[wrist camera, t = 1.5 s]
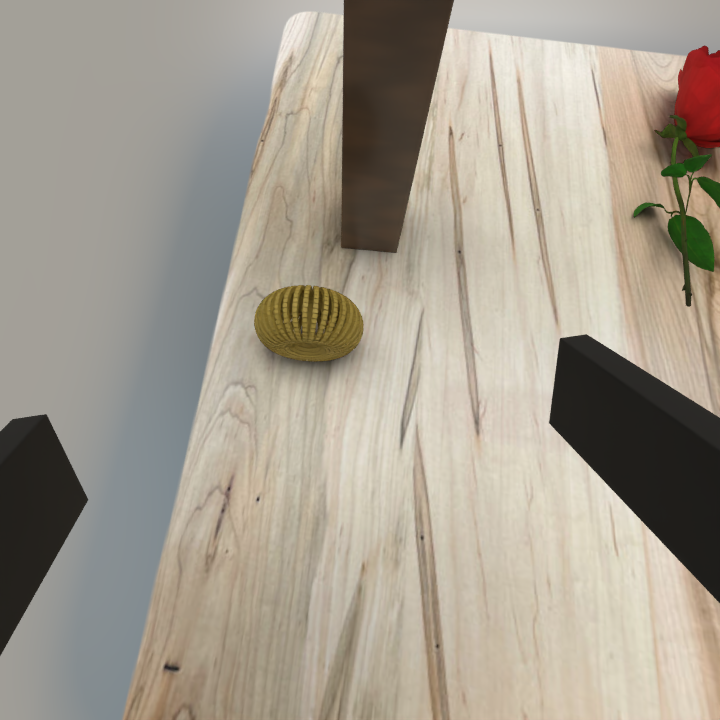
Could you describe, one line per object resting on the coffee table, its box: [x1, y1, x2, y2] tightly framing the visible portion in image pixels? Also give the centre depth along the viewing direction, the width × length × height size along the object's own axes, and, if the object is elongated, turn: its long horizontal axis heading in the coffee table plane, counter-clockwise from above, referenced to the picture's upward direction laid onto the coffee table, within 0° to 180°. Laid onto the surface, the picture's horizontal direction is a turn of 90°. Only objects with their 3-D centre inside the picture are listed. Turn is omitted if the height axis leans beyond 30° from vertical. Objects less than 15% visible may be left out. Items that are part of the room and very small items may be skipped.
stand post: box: [341, 0, 454, 253], centre depth 25 cm, size 5×5×32 cm
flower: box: [634, 46, 720, 307], centre depth 39 cm, size 9×10×30 cm
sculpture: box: [254, 285, 364, 362], centre depth 32 cm, size 8×4×8 cm, turn 88°
